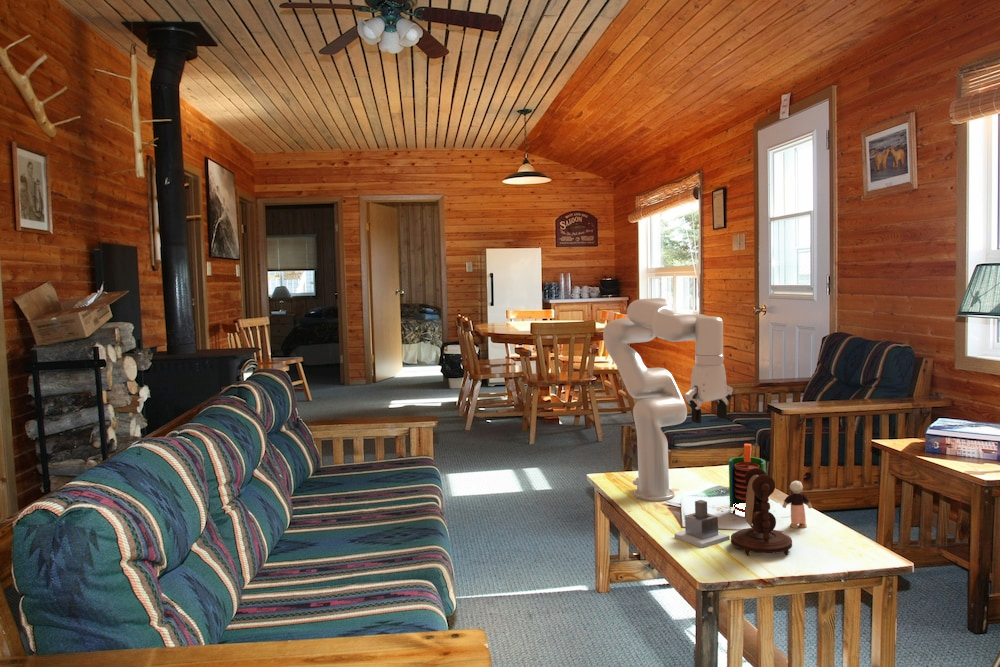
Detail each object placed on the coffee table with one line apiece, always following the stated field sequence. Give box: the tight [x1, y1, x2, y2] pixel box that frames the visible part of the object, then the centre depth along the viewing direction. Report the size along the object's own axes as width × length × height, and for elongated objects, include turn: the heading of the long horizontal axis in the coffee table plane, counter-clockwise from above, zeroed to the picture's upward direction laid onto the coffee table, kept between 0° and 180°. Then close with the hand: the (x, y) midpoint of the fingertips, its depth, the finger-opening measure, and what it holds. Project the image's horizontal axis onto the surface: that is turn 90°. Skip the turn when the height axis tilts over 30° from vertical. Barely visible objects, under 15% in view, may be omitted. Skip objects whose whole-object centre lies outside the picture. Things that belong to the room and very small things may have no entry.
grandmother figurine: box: [781, 480, 813, 529], centre depth 205 cm, size 8×4×13 cm, turn 97°
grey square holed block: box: [684, 512, 719, 540], centre depth 199 cm, size 6×6×5 cm
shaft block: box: [674, 499, 731, 548], centre depth 199 cm, size 10×10×10 cm
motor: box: [728, 443, 767, 512], centre depth 218 cm, size 10×9×20 cm
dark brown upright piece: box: [730, 468, 793, 557], centre depth 190 cm, size 15×15×20 cm
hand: (709, 420), depth 212 cm, fingers open, 9 cm apart
